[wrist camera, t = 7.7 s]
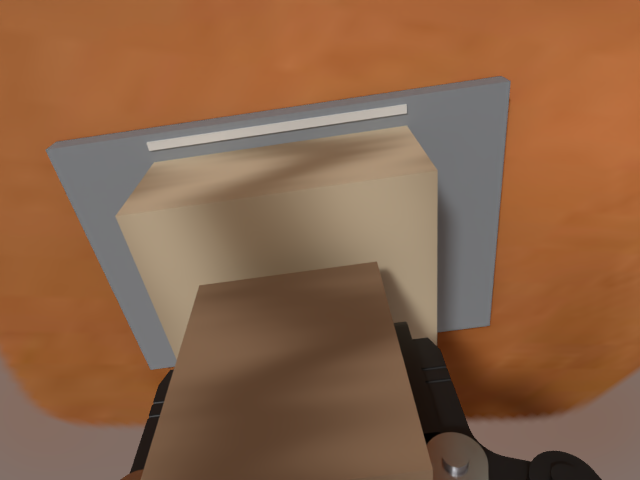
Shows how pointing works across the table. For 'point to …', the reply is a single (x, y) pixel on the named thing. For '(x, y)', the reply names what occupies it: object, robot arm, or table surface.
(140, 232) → the pedestal
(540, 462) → the robot arm
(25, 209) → the table surface
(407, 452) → the block
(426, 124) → the plate
